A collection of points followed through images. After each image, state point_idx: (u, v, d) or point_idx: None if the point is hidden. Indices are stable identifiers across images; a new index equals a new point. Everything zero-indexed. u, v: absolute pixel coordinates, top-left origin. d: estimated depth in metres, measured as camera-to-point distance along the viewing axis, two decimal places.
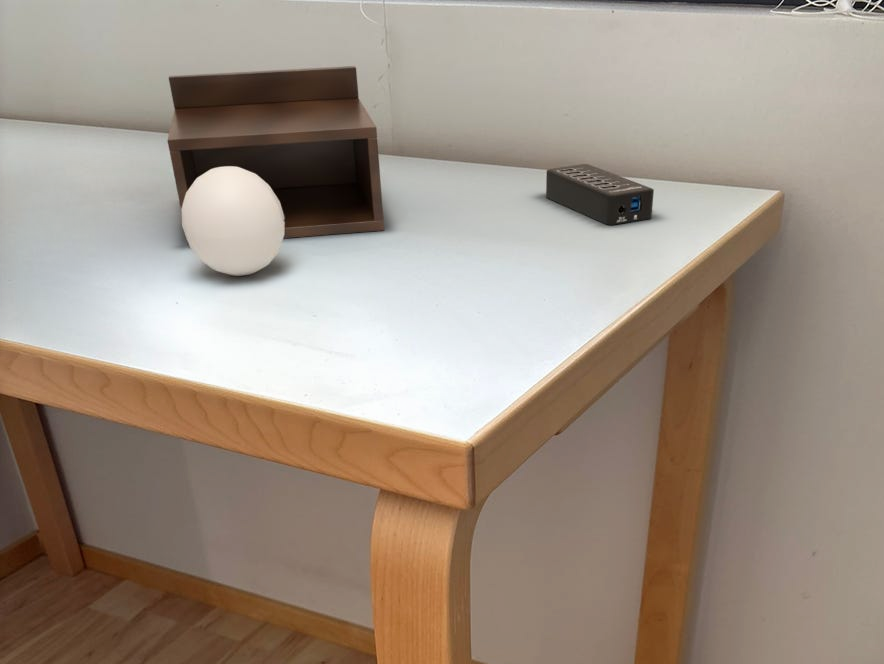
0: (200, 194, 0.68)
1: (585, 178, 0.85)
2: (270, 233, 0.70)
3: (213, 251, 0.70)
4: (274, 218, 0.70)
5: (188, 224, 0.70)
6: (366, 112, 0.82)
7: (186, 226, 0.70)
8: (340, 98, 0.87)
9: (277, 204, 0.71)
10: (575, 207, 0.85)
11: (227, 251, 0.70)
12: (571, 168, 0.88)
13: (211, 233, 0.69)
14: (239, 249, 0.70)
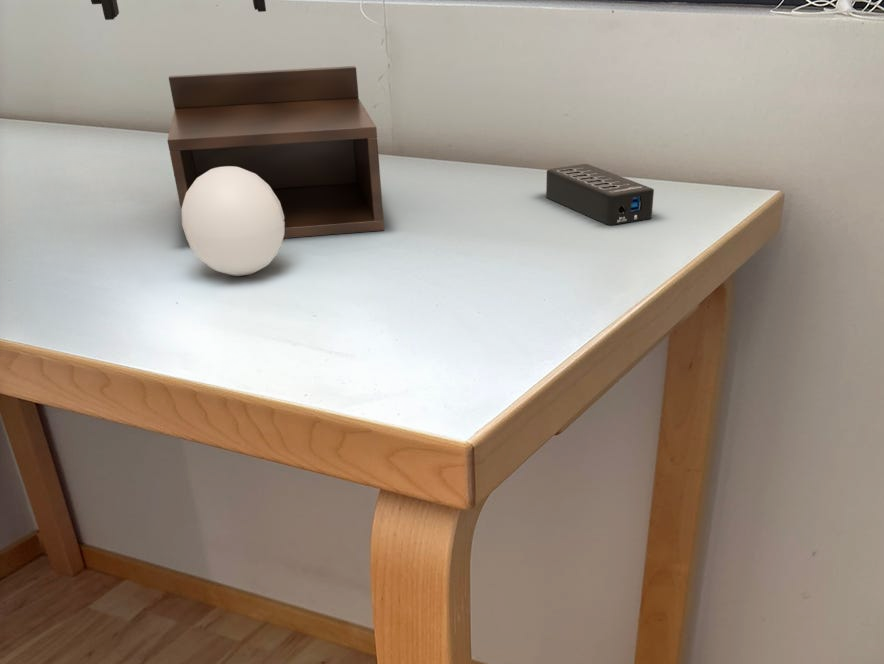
0: (200, 194, 0.68)
1: (585, 178, 0.85)
2: (270, 233, 0.70)
3: (213, 251, 0.70)
4: (274, 218, 0.70)
5: (188, 224, 0.70)
6: (366, 112, 0.82)
7: (186, 226, 0.70)
8: (340, 98, 0.87)
9: (277, 204, 0.71)
10: (575, 207, 0.86)
11: (227, 251, 0.70)
12: (571, 168, 0.88)
13: (211, 233, 0.69)
14: (239, 249, 0.70)
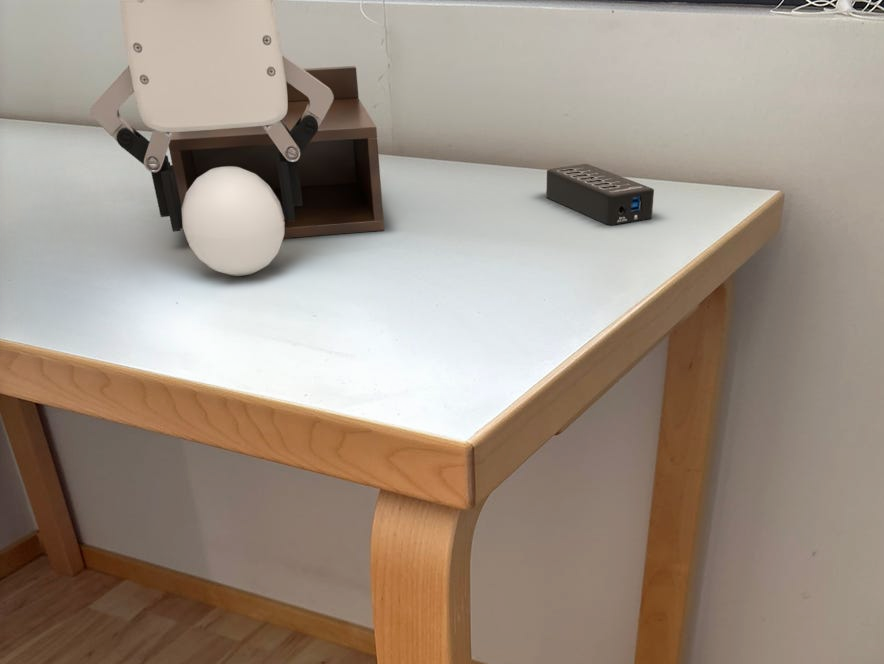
0: (200, 194, 0.68)
1: (585, 178, 0.85)
2: (270, 234, 0.70)
3: (213, 251, 0.70)
4: (274, 218, 0.70)
5: (188, 224, 0.70)
6: (366, 112, 0.82)
7: (186, 227, 0.70)
8: (340, 98, 0.87)
9: (277, 204, 0.71)
10: (575, 207, 0.86)
11: (227, 251, 0.70)
12: (571, 168, 0.88)
13: (211, 233, 0.69)
14: (239, 249, 0.70)
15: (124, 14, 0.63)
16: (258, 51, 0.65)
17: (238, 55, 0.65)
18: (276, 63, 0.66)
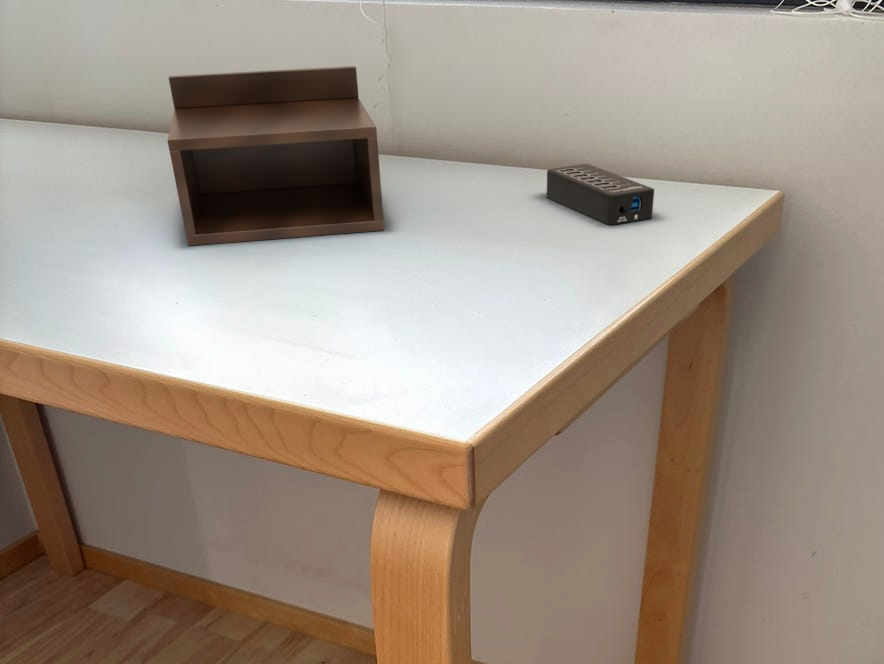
0: None
1: (586, 178, 0.85)
2: None
3: None
4: None
5: None
6: (366, 112, 0.82)
7: None
8: (340, 98, 0.87)
9: None
10: (576, 207, 0.86)
11: None
12: (572, 168, 0.88)
13: None
14: None
15: None
16: None
17: None
18: None
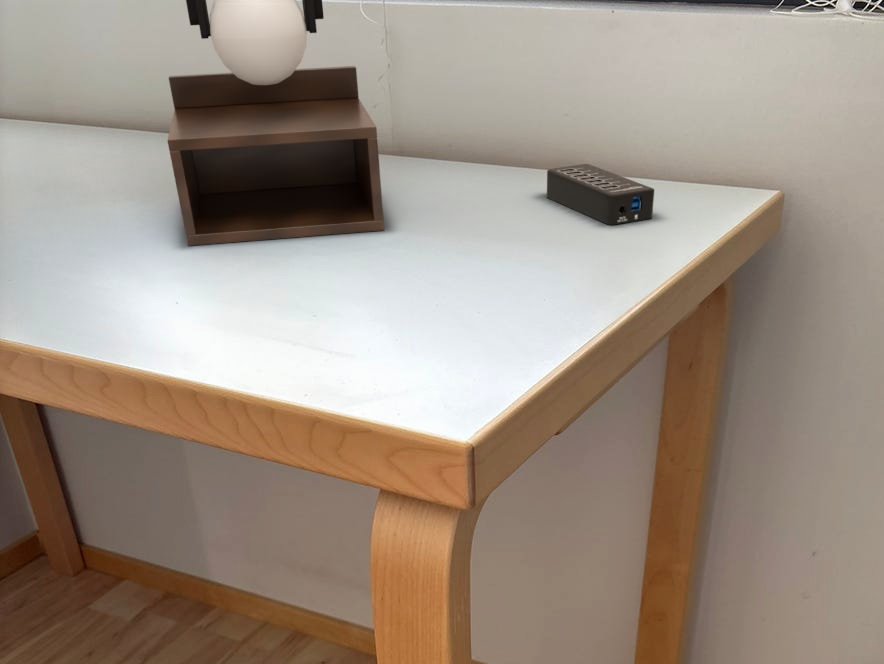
0: None
1: (586, 178, 0.85)
2: (293, 39, 0.75)
3: (240, 54, 0.74)
4: (297, 24, 0.75)
5: (216, 27, 0.74)
6: (366, 112, 0.82)
7: (214, 31, 0.74)
8: (340, 98, 0.87)
9: (300, 12, 0.75)
10: (576, 207, 0.86)
11: (253, 53, 0.74)
12: (572, 168, 0.88)
13: (238, 34, 0.73)
14: (264, 51, 0.74)
15: None
16: None
17: None
18: None
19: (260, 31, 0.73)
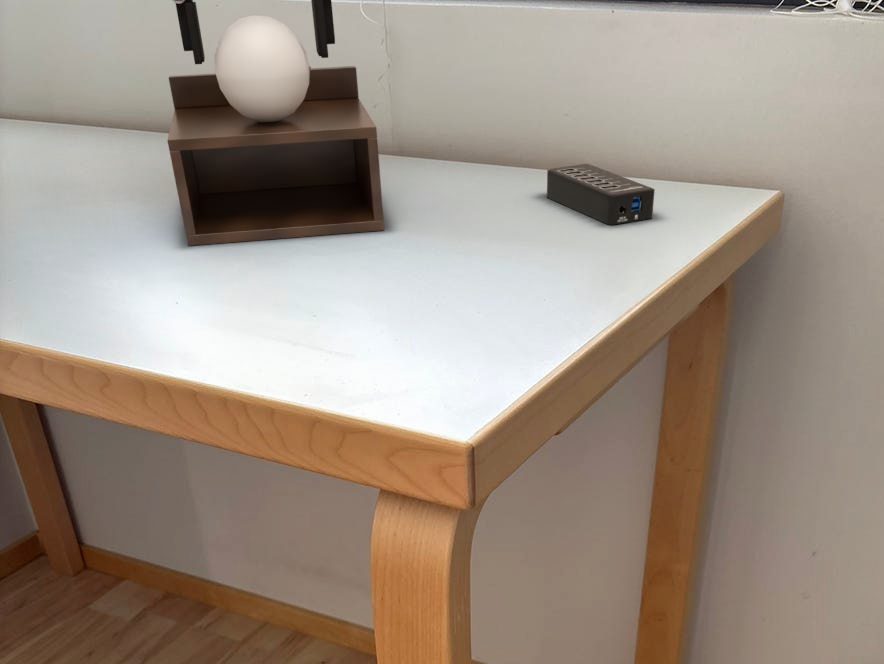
0: (233, 37, 0.74)
1: (586, 178, 0.85)
2: (296, 78, 0.76)
3: (244, 93, 0.76)
4: (300, 64, 0.76)
5: (221, 68, 0.75)
6: (366, 112, 0.82)
7: (219, 71, 0.76)
8: (340, 98, 0.87)
9: (303, 51, 0.77)
10: (576, 207, 0.86)
11: (257, 93, 0.75)
12: (572, 168, 0.88)
13: (243, 74, 0.75)
14: (268, 91, 0.75)
15: None
16: None
17: None
18: None
19: (264, 71, 0.75)
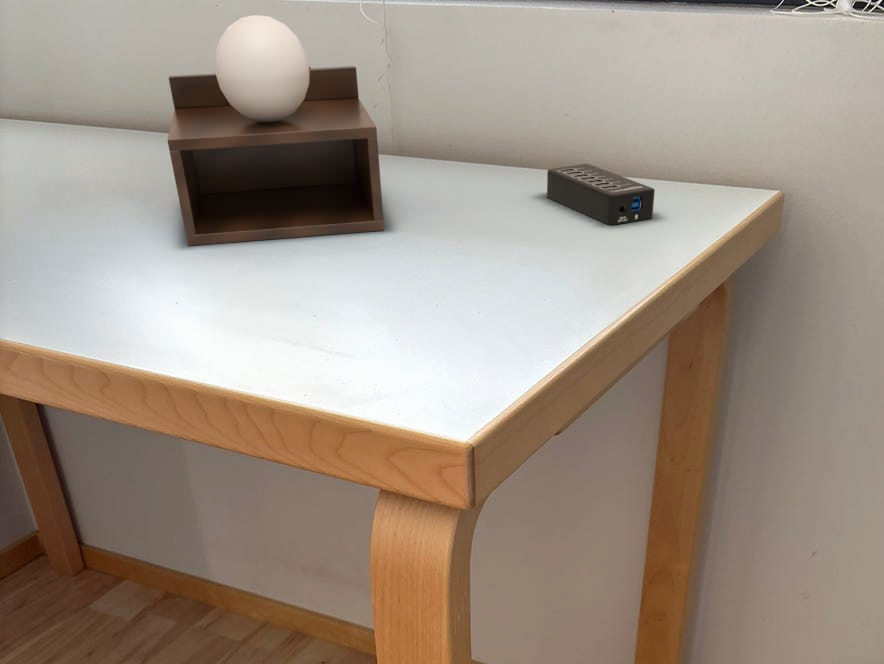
0: (233, 37, 0.74)
1: (586, 178, 0.85)
2: (296, 78, 0.76)
3: (244, 93, 0.76)
4: (300, 64, 0.76)
5: (221, 67, 0.75)
6: (366, 112, 0.82)
7: (219, 70, 0.76)
8: (340, 98, 0.87)
9: (303, 52, 0.77)
10: (576, 207, 0.86)
11: (257, 93, 0.75)
12: (572, 168, 0.88)
13: (243, 74, 0.75)
14: (268, 91, 0.75)
15: None
16: None
17: None
18: None
19: (264, 71, 0.75)
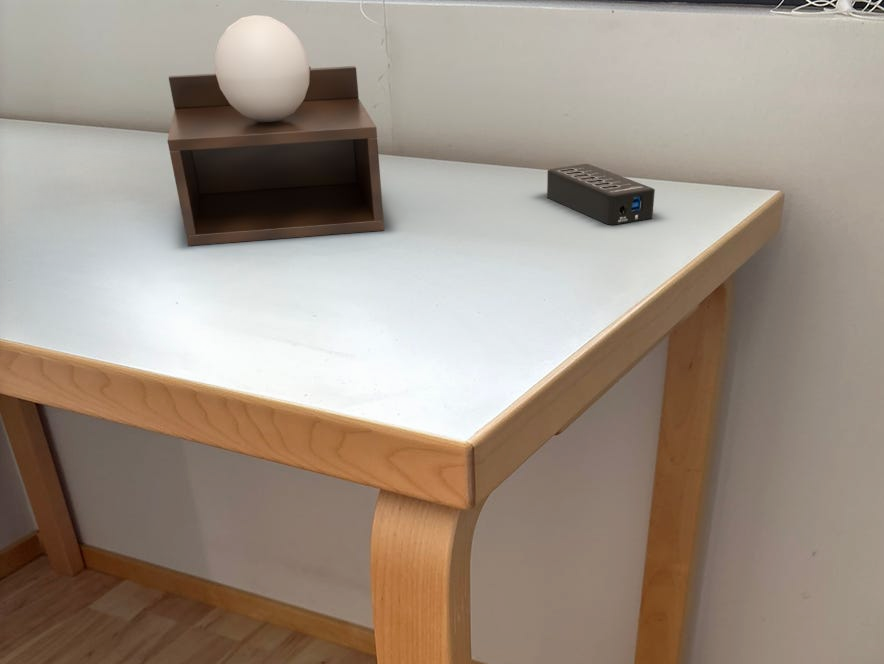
0: (233, 37, 0.74)
1: (586, 178, 0.85)
2: (296, 78, 0.76)
3: (244, 93, 0.76)
4: (300, 64, 0.76)
5: (221, 67, 0.75)
6: (366, 112, 0.82)
7: (219, 70, 0.76)
8: (340, 98, 0.87)
9: (303, 52, 0.77)
10: (576, 207, 0.86)
11: (257, 93, 0.75)
12: (572, 168, 0.88)
13: (243, 74, 0.75)
14: (268, 91, 0.75)
15: None
16: None
17: None
18: None
19: (264, 71, 0.75)
